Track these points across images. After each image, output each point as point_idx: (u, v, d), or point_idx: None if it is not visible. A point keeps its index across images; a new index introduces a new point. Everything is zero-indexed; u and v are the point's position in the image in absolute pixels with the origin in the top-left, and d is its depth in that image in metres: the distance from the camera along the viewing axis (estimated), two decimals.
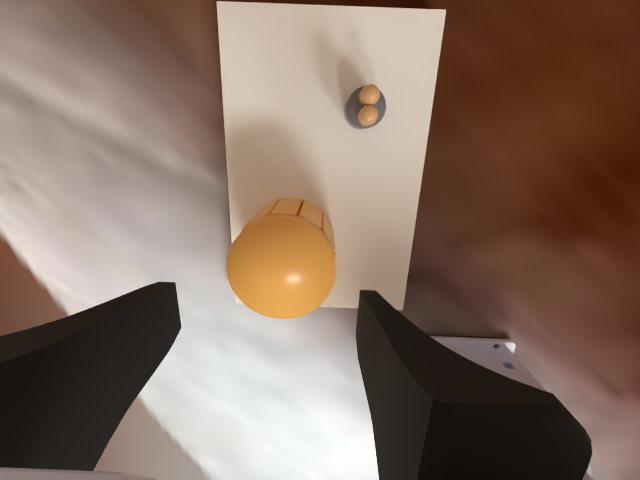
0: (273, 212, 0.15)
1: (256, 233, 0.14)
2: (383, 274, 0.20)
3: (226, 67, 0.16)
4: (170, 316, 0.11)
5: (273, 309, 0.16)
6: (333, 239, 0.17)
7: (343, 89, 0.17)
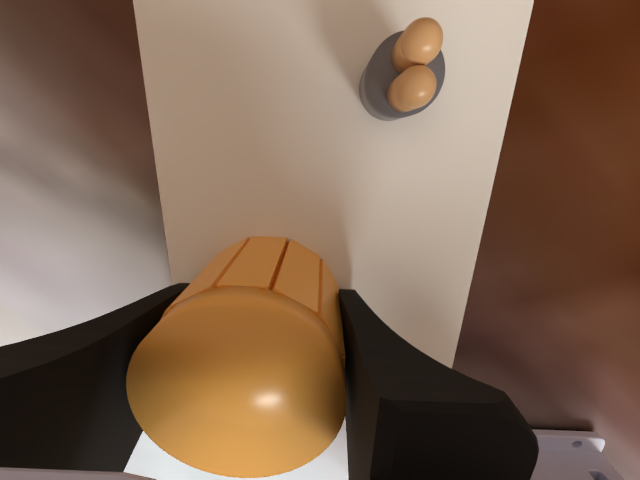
0: (223, 282, 0.08)
1: (181, 335, 0.07)
2: None
3: (144, 7, 0.09)
4: None
5: (226, 463, 0.08)
6: (339, 314, 0.10)
7: (357, 48, 0.09)
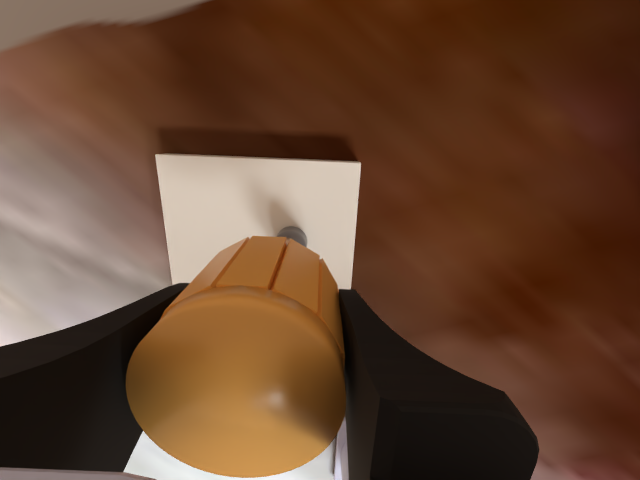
0: (222, 281, 0.08)
1: (180, 334, 0.07)
2: None
3: (167, 206, 0.18)
4: None
5: (225, 463, 0.08)
6: (339, 314, 0.10)
7: (273, 224, 0.18)
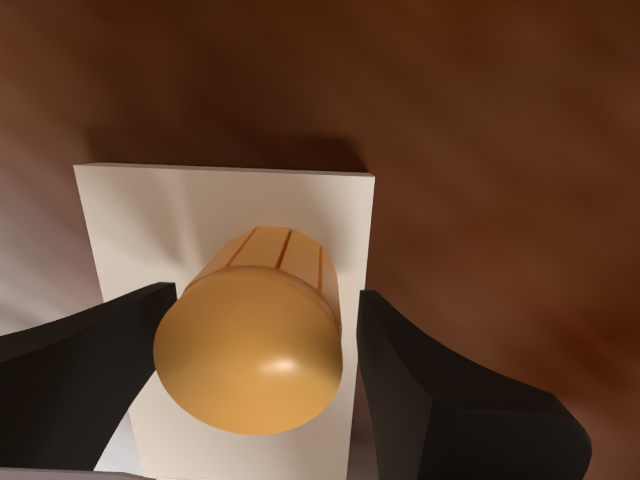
0: (236, 262, 0.09)
1: (201, 305, 0.08)
2: (319, 450, 0.17)
3: (97, 239, 0.13)
4: None
5: (238, 422, 0.09)
6: (337, 295, 0.11)
7: None
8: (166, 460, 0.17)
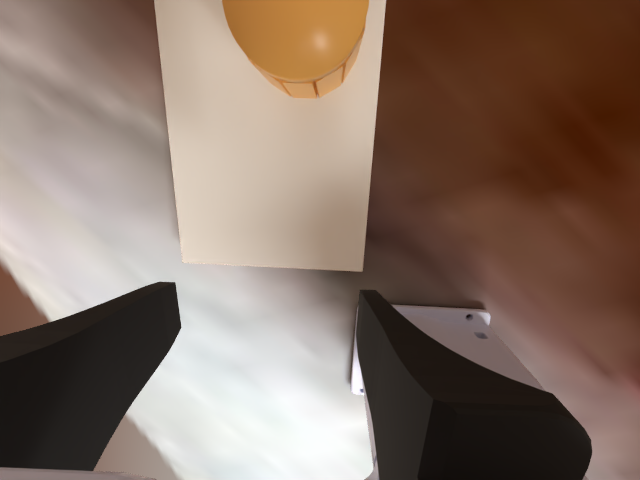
0: None
1: None
2: (339, 230, 0.19)
3: None
4: (170, 316, 0.11)
5: (283, 62, 0.12)
6: None
7: None
8: (203, 242, 0.19)
